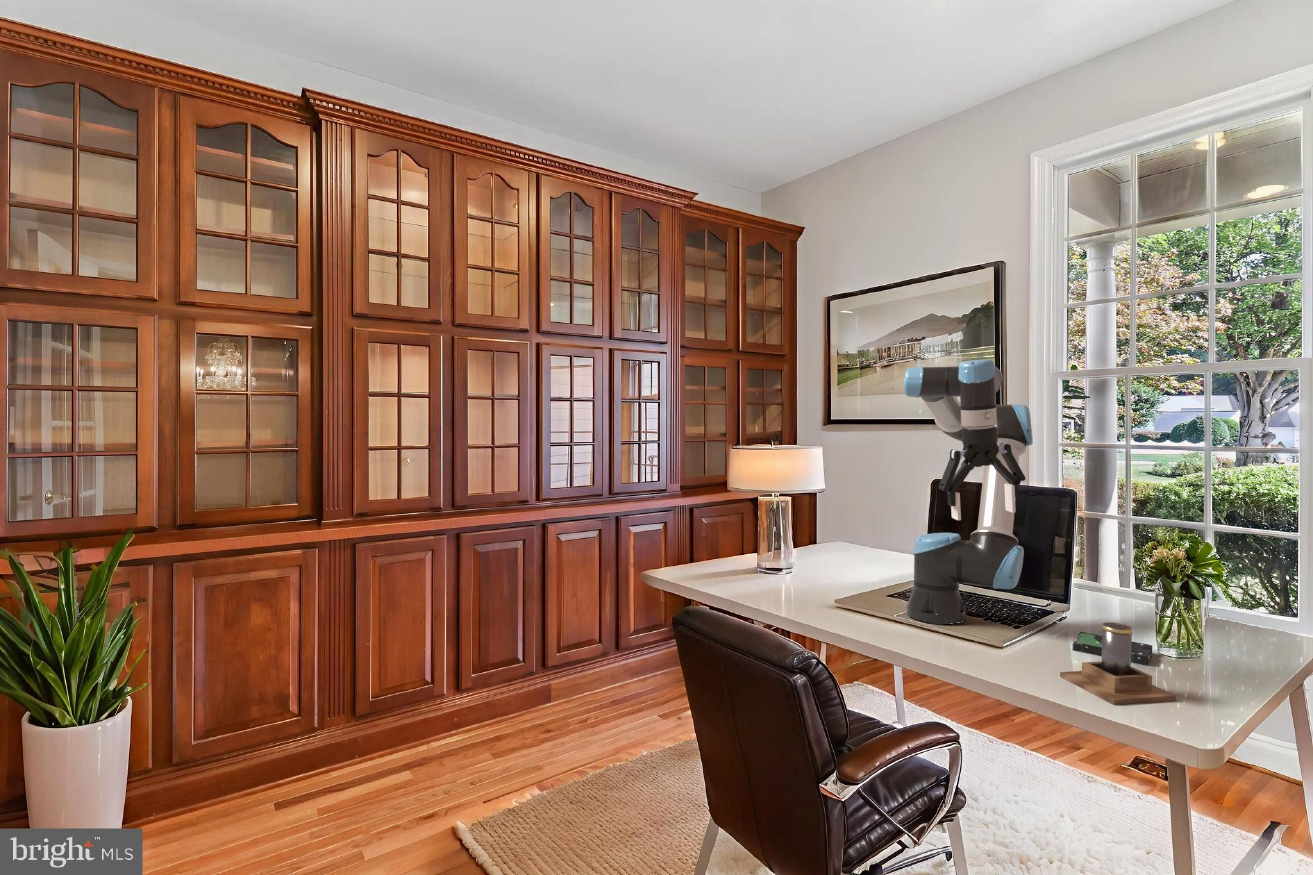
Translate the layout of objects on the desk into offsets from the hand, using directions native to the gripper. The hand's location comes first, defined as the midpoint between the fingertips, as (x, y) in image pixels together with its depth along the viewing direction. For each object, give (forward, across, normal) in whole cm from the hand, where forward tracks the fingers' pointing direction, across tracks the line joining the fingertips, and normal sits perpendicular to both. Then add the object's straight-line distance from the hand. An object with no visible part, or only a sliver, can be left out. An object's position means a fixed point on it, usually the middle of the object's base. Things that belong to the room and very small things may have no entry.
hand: (983, 515), depth 158 cm
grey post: (+32, +12, -25) cm, 42 cm away
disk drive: (+37, +27, -6) cm, 46 cm away
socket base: (+33, +12, -25) cm, 43 cm away
